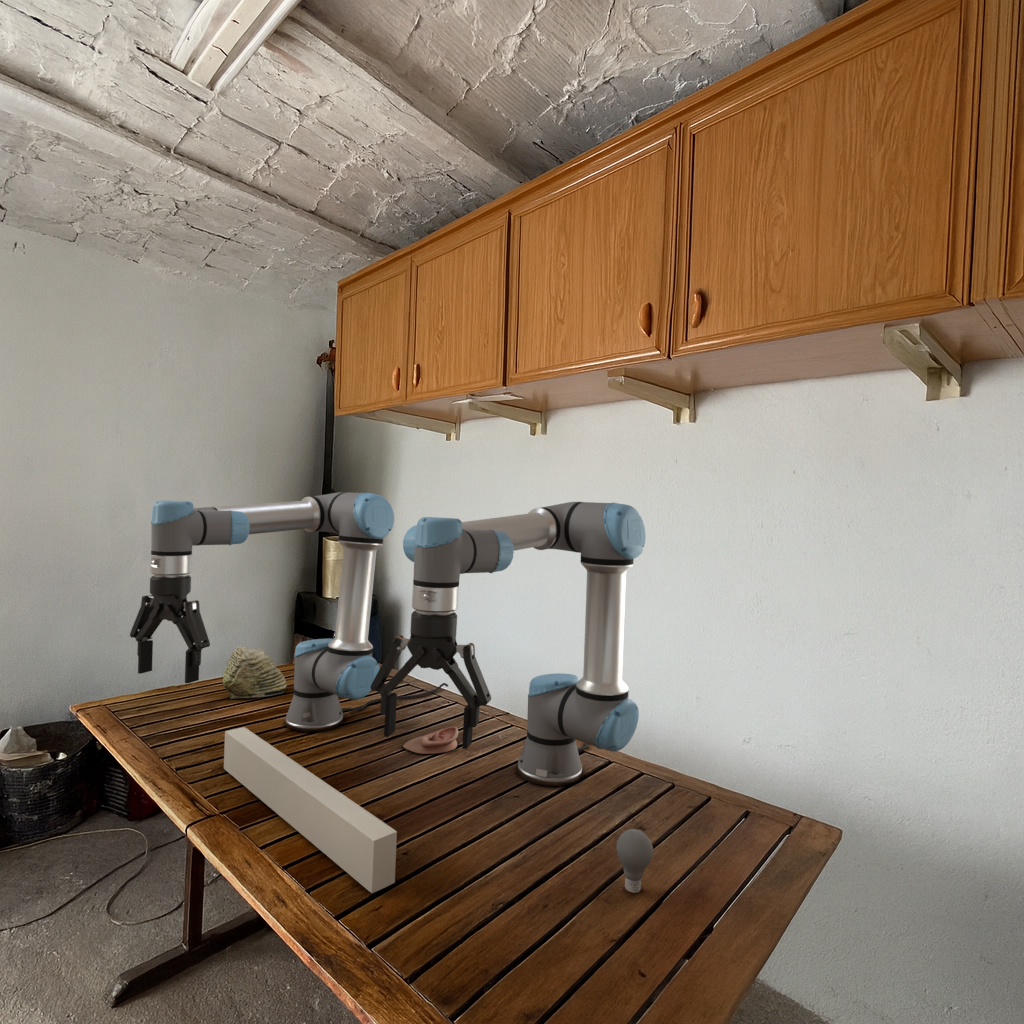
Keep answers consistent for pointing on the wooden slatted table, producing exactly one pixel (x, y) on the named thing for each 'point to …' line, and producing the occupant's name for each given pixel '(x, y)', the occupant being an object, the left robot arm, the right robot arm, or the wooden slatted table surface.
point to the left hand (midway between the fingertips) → (167, 676)
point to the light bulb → (634, 857)
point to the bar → (314, 809)
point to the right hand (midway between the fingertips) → (427, 740)
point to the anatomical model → (434, 742)
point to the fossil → (252, 674)
